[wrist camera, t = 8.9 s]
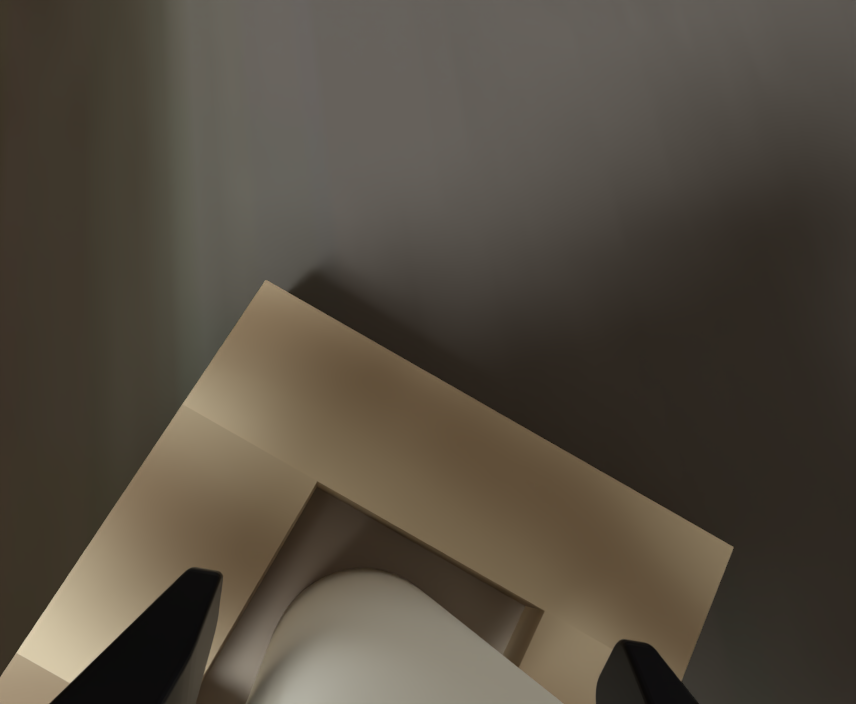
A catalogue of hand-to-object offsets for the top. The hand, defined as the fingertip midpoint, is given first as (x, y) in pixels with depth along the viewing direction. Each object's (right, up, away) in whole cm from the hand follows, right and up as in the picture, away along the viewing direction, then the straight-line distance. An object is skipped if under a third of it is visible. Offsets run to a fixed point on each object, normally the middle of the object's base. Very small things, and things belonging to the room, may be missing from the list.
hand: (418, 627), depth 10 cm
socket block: (-1, -3, +7) cm, 8 cm away
